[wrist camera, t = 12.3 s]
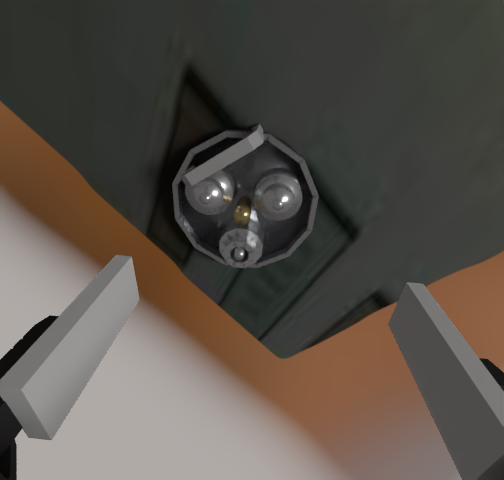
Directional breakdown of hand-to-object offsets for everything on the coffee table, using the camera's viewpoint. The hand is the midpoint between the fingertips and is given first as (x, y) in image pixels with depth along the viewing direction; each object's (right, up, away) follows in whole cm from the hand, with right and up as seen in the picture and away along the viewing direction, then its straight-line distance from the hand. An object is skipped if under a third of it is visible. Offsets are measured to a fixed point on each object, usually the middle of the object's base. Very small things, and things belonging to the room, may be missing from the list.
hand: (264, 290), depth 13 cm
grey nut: (-2, +3, +33) cm, 33 cm away
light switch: (-4, +16, +28) cm, 32 cm away
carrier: (-2, +9, +31) cm, 33 cm away
